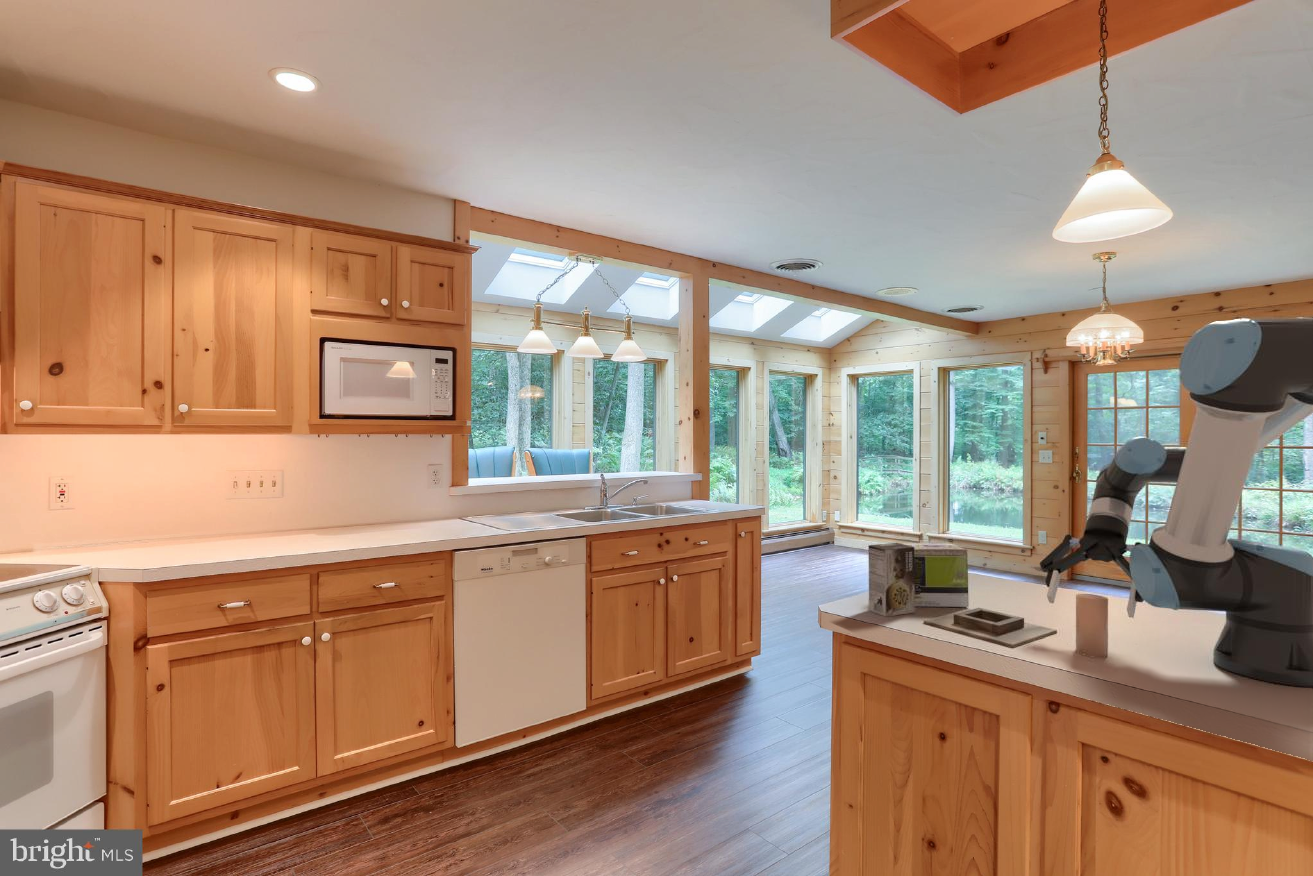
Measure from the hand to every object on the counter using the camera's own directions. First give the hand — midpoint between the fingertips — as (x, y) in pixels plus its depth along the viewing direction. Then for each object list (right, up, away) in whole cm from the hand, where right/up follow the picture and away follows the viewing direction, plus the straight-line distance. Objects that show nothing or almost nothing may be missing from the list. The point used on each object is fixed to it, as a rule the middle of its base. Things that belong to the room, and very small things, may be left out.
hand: (1088, 606), depth 127 cm
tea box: (-17, -8, +35) cm, 39 cm away
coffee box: (-30, -8, +26) cm, 41 cm away
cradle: (-14, -8, +13) cm, 20 cm away
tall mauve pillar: (-2, -8, -3) cm, 9 cm away
